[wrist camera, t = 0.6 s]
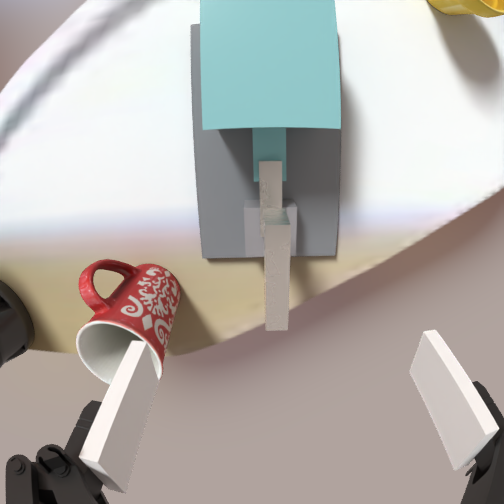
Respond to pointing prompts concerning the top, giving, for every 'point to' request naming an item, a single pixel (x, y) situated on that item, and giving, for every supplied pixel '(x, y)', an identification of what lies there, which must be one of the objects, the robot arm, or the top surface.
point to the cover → (269, 70)
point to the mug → (127, 316)
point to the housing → (247, 191)
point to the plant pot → (470, 7)
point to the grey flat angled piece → (274, 245)
